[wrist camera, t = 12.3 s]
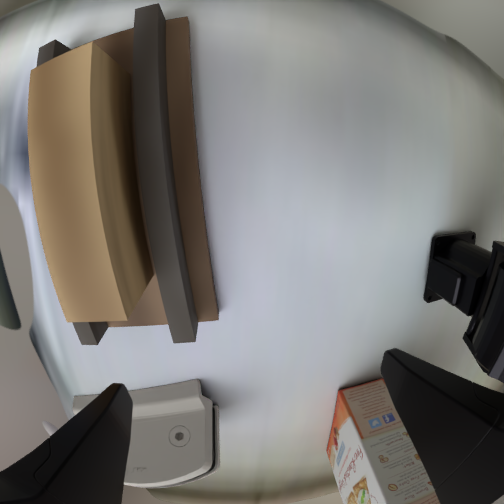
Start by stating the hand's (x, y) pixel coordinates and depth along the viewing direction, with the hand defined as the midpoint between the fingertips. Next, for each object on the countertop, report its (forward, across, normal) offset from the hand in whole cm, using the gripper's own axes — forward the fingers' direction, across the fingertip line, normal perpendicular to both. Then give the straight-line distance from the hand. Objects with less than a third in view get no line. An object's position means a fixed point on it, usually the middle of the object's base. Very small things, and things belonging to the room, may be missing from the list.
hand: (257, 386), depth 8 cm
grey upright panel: (+12, +12, +16) cm, 24 cm away
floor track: (+12, +8, -7) cm, 16 cm away
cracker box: (+12, -11, +22) cm, 27 cm away
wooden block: (+11, +8, -7) cm, 15 cm away
